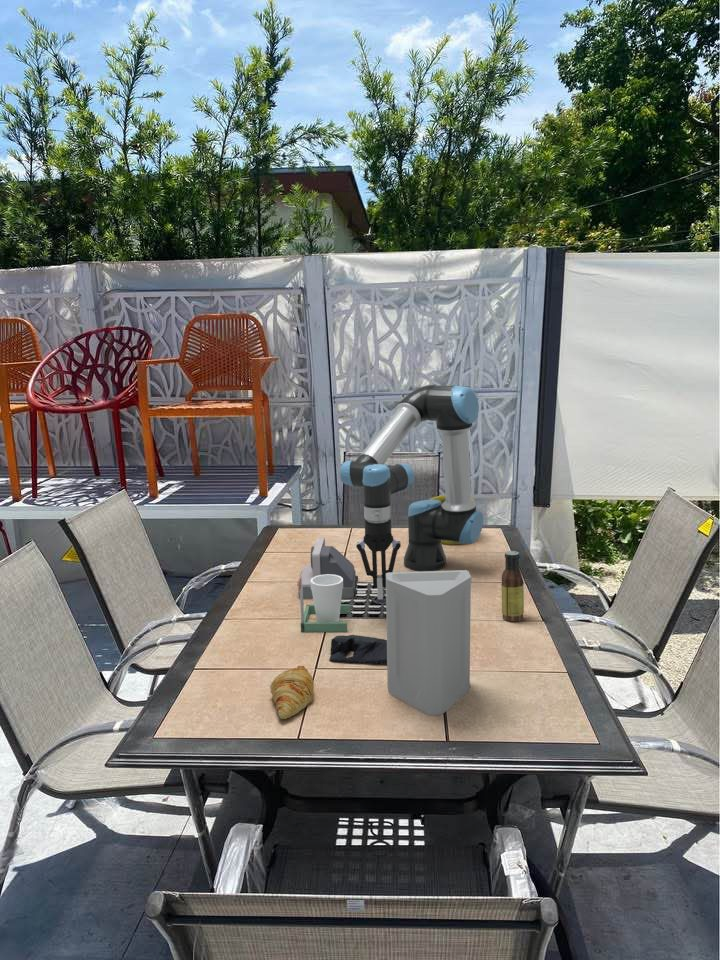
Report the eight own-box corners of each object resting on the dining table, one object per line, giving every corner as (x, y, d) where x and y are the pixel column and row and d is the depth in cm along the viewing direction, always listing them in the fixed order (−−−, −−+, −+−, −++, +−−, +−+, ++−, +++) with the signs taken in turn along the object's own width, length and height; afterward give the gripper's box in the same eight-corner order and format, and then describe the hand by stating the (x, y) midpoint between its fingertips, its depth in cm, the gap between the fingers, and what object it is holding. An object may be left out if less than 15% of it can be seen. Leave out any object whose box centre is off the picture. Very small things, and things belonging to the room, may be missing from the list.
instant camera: (306, 576, 244) (305, 534, 241) (365, 578, 240) (364, 536, 237) (289, 598, 224) (286, 553, 220) (352, 602, 220) (351, 556, 216)
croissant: (297, 738, 153) (312, 709, 151) (255, 718, 153) (271, 689, 151) (312, 687, 174) (326, 662, 172) (276, 669, 173) (289, 643, 171)
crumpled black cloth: (407, 672, 175) (407, 655, 174) (324, 663, 181) (323, 645, 180) (420, 646, 189) (420, 629, 188) (342, 638, 195) (341, 622, 194)
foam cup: (343, 628, 200) (342, 585, 197) (311, 629, 200) (309, 586, 197) (344, 615, 209) (343, 573, 206) (313, 616, 209) (311, 574, 206)
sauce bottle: (527, 617, 204) (529, 552, 200) (516, 624, 200) (518, 557, 196) (508, 612, 209) (509, 548, 204) (496, 618, 204) (497, 553, 200)
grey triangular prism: (391, 716, 154) (389, 596, 148) (387, 683, 169) (385, 572, 163) (478, 713, 155) (479, 593, 149) (466, 680, 169) (467, 570, 163)
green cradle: (349, 612, 211) (348, 559, 208) (346, 637, 194) (344, 580, 191) (306, 612, 212) (304, 560, 209) (299, 637, 195) (296, 581, 191)
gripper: (354, 523, 195) (357, 603, 201) (400, 522, 195) (402, 602, 200) (355, 516, 203) (358, 592, 208) (400, 515, 202) (402, 592, 208)
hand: (380, 597), depth 204 cm, fingers closed
